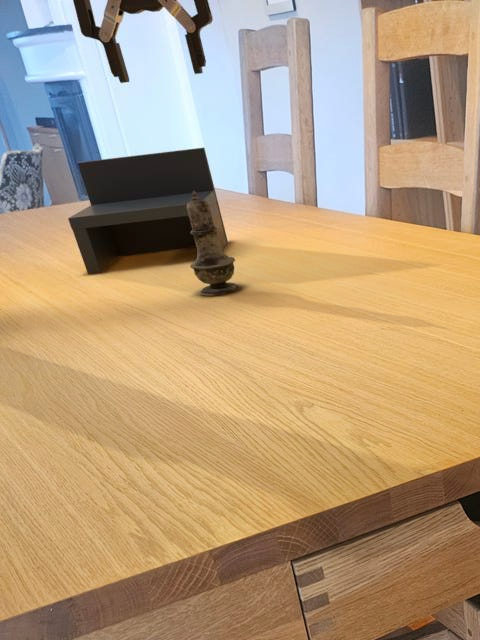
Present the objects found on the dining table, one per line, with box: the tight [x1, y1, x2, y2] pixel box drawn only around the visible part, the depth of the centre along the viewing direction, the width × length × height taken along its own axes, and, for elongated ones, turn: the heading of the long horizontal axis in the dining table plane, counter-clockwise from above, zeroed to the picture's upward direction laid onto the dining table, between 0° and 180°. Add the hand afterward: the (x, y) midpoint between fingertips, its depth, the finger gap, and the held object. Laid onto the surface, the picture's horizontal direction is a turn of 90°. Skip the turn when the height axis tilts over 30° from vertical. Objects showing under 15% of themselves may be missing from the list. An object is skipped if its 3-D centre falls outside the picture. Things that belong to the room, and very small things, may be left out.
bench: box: [67, 147, 229, 275], centre depth 131 cm, size 20×14×14 cm
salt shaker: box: [187, 191, 241, 297], centre depth 108 cm, size 6×6×12 cm
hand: (161, 78), depth 96 cm, fingers open, 8 cm apart
